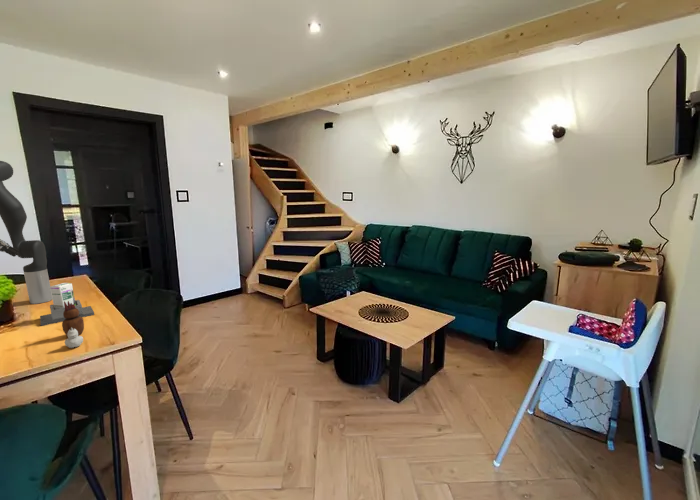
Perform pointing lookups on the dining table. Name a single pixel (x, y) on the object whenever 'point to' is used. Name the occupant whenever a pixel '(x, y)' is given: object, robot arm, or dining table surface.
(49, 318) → the steel sleeve
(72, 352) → the dining table surface
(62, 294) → the syrup box
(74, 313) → the wooden figurine
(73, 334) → the rubber duck
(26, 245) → the robot arm
